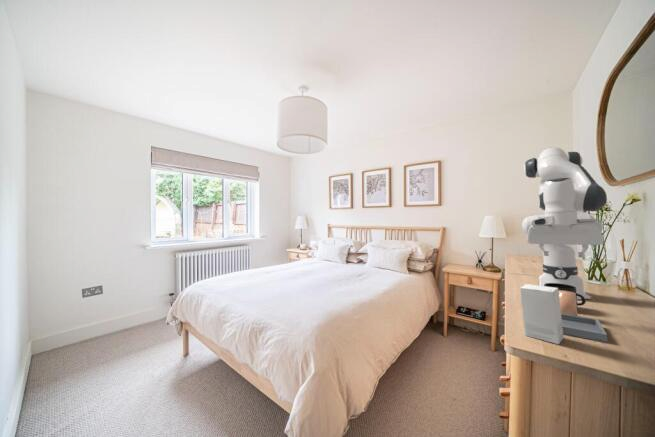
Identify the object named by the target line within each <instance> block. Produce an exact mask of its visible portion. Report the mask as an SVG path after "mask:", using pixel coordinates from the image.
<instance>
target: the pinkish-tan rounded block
mask: <svg viewBox="0 0 655 437" xmlns="http://www.w3.org/2000/svg"><path fill="white" fill-rule="evenodd" d="M558 292H559V301H560V309H561V314H567V315H573V316H578V310H577V307H578V306H577V303H578V302H577V303H576V293H574V292H570V291H563V290H558Z"/></svg>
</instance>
